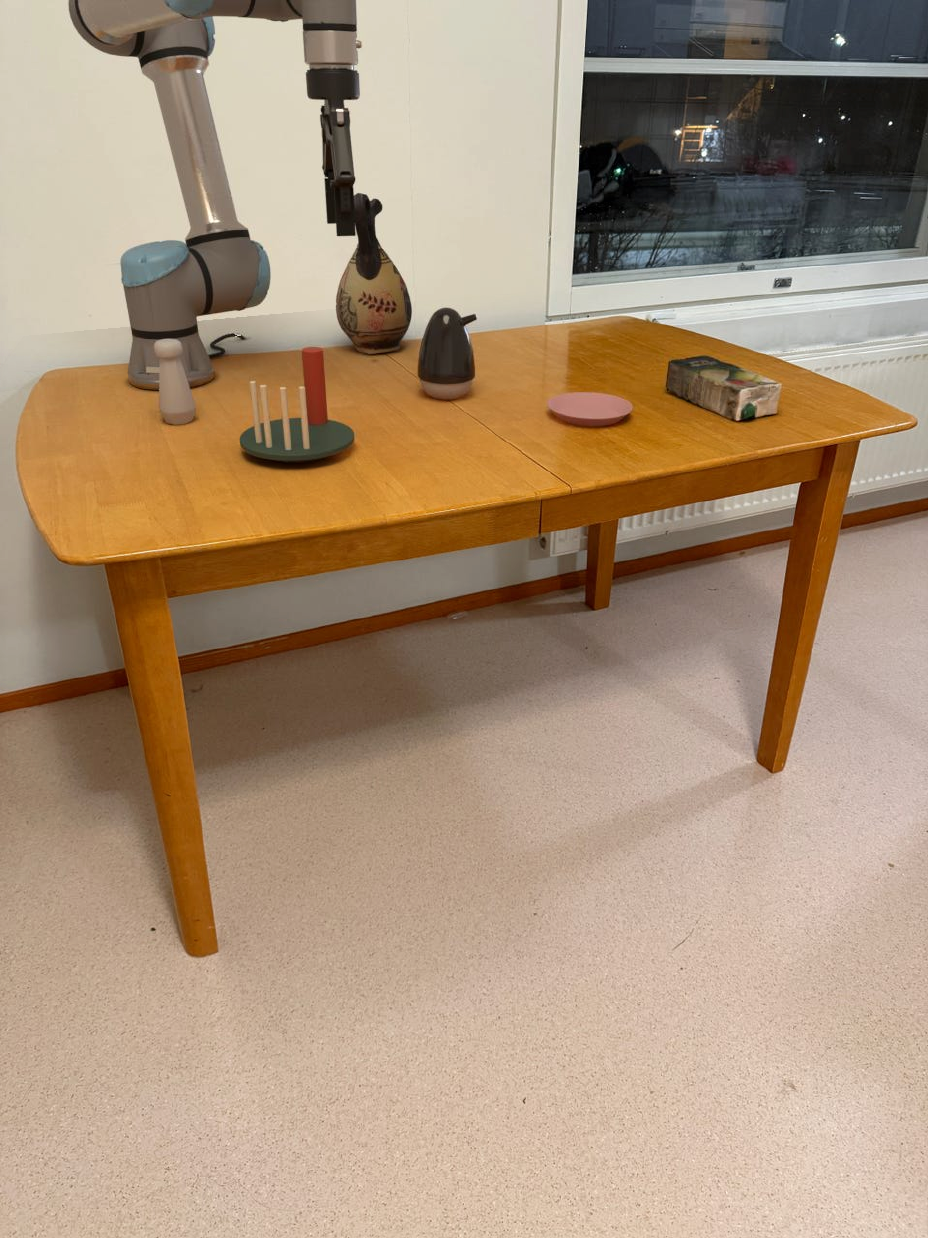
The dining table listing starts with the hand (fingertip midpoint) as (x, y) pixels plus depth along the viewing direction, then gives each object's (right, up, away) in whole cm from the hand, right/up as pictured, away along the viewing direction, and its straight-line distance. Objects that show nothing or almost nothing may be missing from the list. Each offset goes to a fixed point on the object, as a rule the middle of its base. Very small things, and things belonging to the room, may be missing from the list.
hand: (340, 229), depth 141 cm
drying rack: (-6, -34, -2) cm, 35 cm away
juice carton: (+64, -22, +21) cm, 71 cm away
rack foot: (-6, -34, -2) cm, 35 cm away
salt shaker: (-28, -27, +10) cm, 40 cm away
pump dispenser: (+16, -20, +23) cm, 35 cm away
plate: (+40, -26, +14) cm, 50 cm away
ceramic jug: (0, -4, +50) cm, 50 cm away
